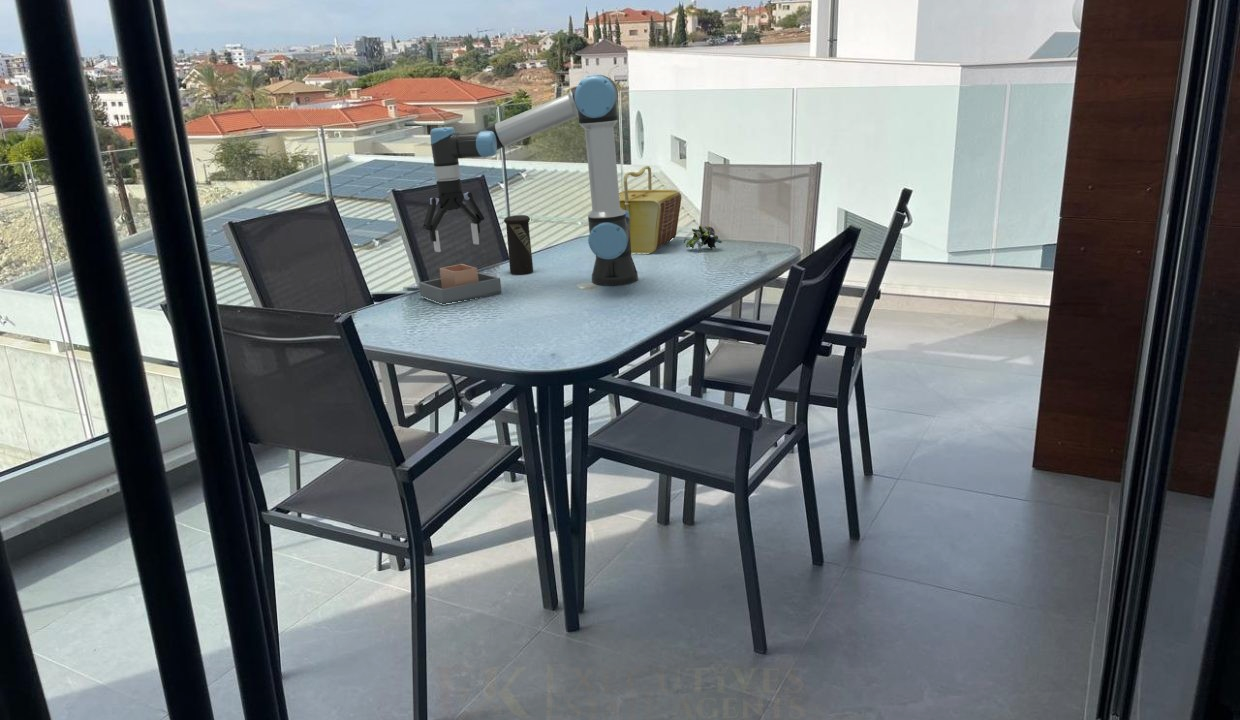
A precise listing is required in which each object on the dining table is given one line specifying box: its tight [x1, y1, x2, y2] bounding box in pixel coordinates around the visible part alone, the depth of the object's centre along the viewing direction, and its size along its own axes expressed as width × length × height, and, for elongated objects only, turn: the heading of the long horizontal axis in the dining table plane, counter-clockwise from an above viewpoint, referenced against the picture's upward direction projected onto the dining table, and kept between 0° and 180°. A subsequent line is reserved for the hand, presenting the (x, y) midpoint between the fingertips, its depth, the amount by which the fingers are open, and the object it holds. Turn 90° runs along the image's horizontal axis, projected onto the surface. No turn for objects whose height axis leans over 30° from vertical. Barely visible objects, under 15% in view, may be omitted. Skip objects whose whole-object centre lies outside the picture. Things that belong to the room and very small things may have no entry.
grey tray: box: [418, 271, 503, 304], centre depth 290 cm, size 16×21×5 cm
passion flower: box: [683, 225, 723, 252], centre depth 339 cm, size 11×11×12 cm
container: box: [503, 214, 534, 275], centre depth 317 cm, size 9×9×20 cm
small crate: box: [439, 263, 479, 289], centre depth 289 cm, size 10×8×8 cm
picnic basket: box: [619, 165, 682, 254], centre depth 348 cm, size 29×26×30 cm
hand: (457, 247), depth 286 cm, fingers open, 13 cm apart
